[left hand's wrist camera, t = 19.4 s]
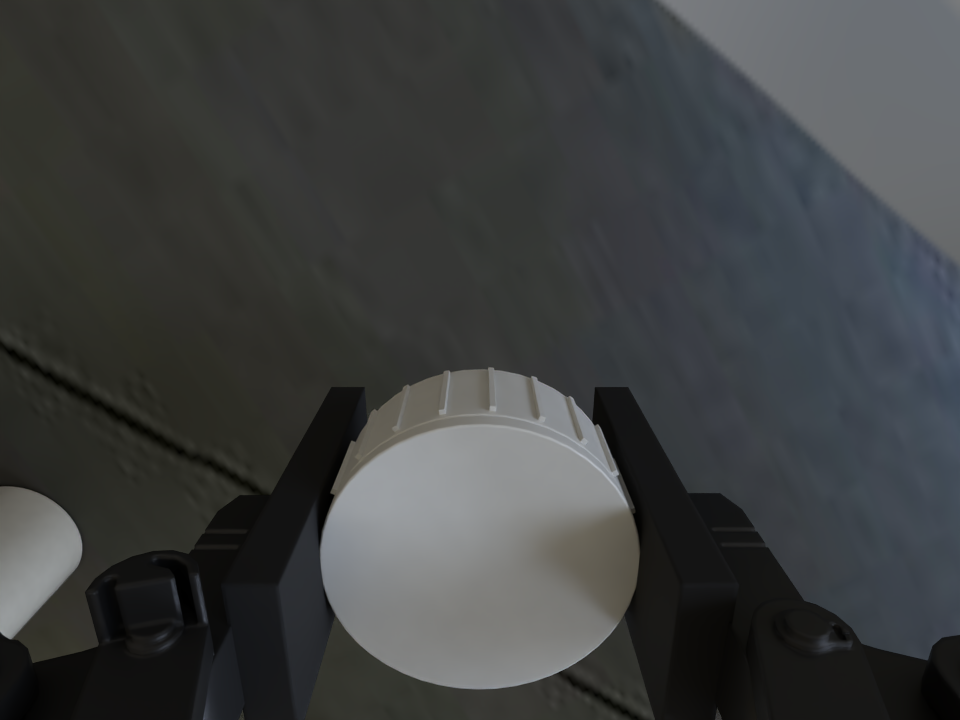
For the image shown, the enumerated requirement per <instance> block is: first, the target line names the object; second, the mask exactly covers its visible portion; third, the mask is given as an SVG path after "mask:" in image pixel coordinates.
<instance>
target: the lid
mask: <svg viewBox="0 0 960 720" xmlns="http://www.w3.org/2000/svg"><path fill="white" fill-rule="evenodd" d="M330 493H331V494H334V498H333V500H332V503H331V506H330V508H329V511H328V513H327V516H326V519H325V522H324V526H323V529H322V533H321V540H320V546H319V552H320V563H321V572H322V581H323V587H324V590H325V593H326V596H327V599H328V601H329V603H330V605H331V607H332V609H333V611H334V613H335V615H336V617H337V618H338V620H339V621H340V622H341V624H342V625H343V627H344V628H345V630H346V631H347V632H348V633H349V634H350V635H351V636H352V637H353V638H354V640H355V641H356V642H357V643H358V644H359V645H361V646H362V647H363V648H364V649H365V650H366V651H368V652H369V653H370V654H371V655H373V656H374V657H376V658H377V659H379V660H380V661H382V662H383V663H385V664H386V665H388V666H390V667H392V668H394V669H396V670H398V671H400V672H402V673H404V674H406V675H409V676H412V677H414V678H417V679H419V680H423V681H426V682H430V683H434V684H437V685H443V686H449V687H455V688H466V689H496V688H504V687H511V686H517V685H521V684H525V683H530V682H534V681H537V680H539V679H542V678H545V677H548V676H551V675H553V674H555V673H557V672H559V671H561V670H564V669H566V668H568V667H570V666H571V665H573V664H574V663H576V662H578V661H579V660H581V659H582V658H584V657H585V656H587V655H588V654H589V653H590V652H592V651H593V650H594V649H595V648H597V647H598V646H599V645H600V644H601V643H602V642H603V641H604V640H605V639H606V638H607V637H608V636H609V635H610V634H611V632H612V631H613V630H614V628H615V627H616V626H617V624H618V623H619V622H620V620H621V619H622V617H623V615H624V614H625V612H626V610H627V608H628V606H629V605H630V602H631V600H632V597H633V594H634V592H635V589H636V585H637V577H638V568H639V558H640V542H639V534H638V531H637V527H636V523H635V520H634V517H633V513H635V507H634V505H633V503H632V500H631V498H630V495H629V493H628V490H627V488H626V485H625V483H624V480H623V478H622V475H621V473H620V471H619V468H618V466H617V463H616V461H615V458H612V455H611V453H610V450H609V448H608V445H607V443H606V440H605V438H604V435H603V433H602V430H601V428H600V426H599V425H598V424H597V425H596V426H594V424H593V423H592V422H591V420H590V419H589V418H588V417H587V416H586V415H585V413H584V412H583V411H582V410H581V409H580V408H579V407H578V406H577V405H576V404H575V401H574V399H573V398H572V397H571V396H569V397H568V398H567V397H566V396H564V395H563V394H561V393H560V392H558V391H557V390H555V389H554V388H552V387H549V386H547V385H545V384H543V383H541V382H539V381H537V378H536V377H533V376H531V378H528V377H525V376H522V375H519V374H514V373H509V372H505V371H497V370H494V368H488V370H484V369H479V370H462V371H456V372H450V371H449V370H448V371H444V374H441V375H438V376H434V377H431V378H428V379H425V380H423V381H421V382H418V383H416V384H414V385H412V386H410V387H409V385H406V386H404V387H403V390H402V391H401V392H400V393H398V394H397V395H395V396H394V397H393V398H391V399H390V400H389V401H388V402H386V403H385V404H384V405H383V406H382V407H381V408H380V409H379V410H378V411H376V410H375V409H374V410H373V411H372V412H371V414H370V417H369V419H368V422H367V424H366V425H365V427H364V428H363V430H362V431H361V433H360V435H359V437H358V439H357V441H356V442H354V441H351V443H350V445H349V448H348V450H347V453H346V455H345V458H344V460H343V463H342V465H341V468H340V470H339V473H338V475H337V477H336V480H335V482H334V485H333V487H332V490H331V492H330Z"/></svg>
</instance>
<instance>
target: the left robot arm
mask: <svg viewBox="0 0 960 720" xmlns="http://www.w3.org/2000/svg"><path fill="white" fill-rule="evenodd" d="M592 423H593V424H594V426H596V425H597V424H598V425H599V426H600V428H601V430H602V433H603V435H604V438H605V440H606V443H607V445H608V448H609V450H610V453H611V455H612V458H615V461H616V463H617V466H618V468H619V471H620V473H621V475H622V478H623V480H624V483H625V485H626V488H627V490H628V493H629V495H630V498H631V500H632V503H633V505H634V507H635V513H633V517H634V520H635V523H636V527H637V531H638V534H639V542H640V558H639V568H638V577H637V585H636V589H635V592H634V594H633V597H632V600H631V602H630V605H629V606H628V608H627V610H626V612H625V614H624V615H625V619H626V622H627V625H628V629H629V632H630V636H631V639H632V642H633V646H634V649H635V653H636V656H637V659H638V663H639V666H640V670H641V673H642V676H643V680H644V683H645V687H646V690H647V693H648V697H649V700H650V704H651V707H652V710H653V714H654V717H655V720H715V716H716V711H717V707H718V710H719V712H720V715H721V717H722V720H960V635H957V636H950V637H944V638H941V639H940V640H939V641H938V642H937V643H935V644H934V645H933V646H932V649H931V652H930V656H929V659H928V661H927V660H923V659H919V658H914V657H910V656H906V655H901V654H897V653H893V652H889V651H884V650H880V649H877V648H873V647H870V646H867V645H864V644H861V642H860V641H859V639H858V637H857V636H856V634H855V633H854V631H853V630H852V628H851V627H850V626H848V625H847V624H846V623H845V622H844V621H842V620H841V619H840V618H839V617H838V616H837V615H835V614H833V613H831V612H830V611H828V610H826V609H824V608H822V607H820V606H818V605H816V604H813V603H809V602H806V601H804V600H803V598H802V597H801V595H800V594H799V592H798V591H797V589H796V588H795V586H794V585H793V584H792V582H791V581H790V579H789V578H788V576H787V575H786V573H785V572H784V570H783V569H782V567H781V566H780V564H779V563H778V561H777V560H776V559H775V557H774V556H773V554H772V553H771V551H770V550H769V548H768V547H765V542H764V541H763V539H762V538H761V536H760V535H759V534H758V532H755V528H754V526H753V525H752V523H751V522H750V520H749V519H748V517H747V516H746V514H745V513H744V511H743V510H742V509H741V508H739V507H738V506H737V505H735V504H734V503H733V502H731V501H730V500H728V499H727V498H726V497H724V496H723V495H722V494H720V493H687V491H686V489H685V487H684V486H683V484H682V482H681V480H680V479H679V477H678V475H677V473H676V471H675V470H674V468H673V466H672V464H671V463H670V461H669V459H668V457H667V456H666V454H665V452H664V450H663V448H662V447H661V445H660V443H659V441H658V440H657V438H656V436H655V434H654V432H653V431H652V429H651V427H650V425H649V424H648V422H647V420H646V418H645V416H644V415H643V413H642V411H641V409H640V408H639V406H638V404H637V402H636V400H635V399H634V397H633V395H632V393H631V392H630V390H629V388H628V387H595V394H594V408H593V422H592ZM366 424H367V414H366V399H365V387H331V389H330V391H329V393H328V394H327V396H326V398H325V400H324V401H323V403H322V405H321V407H320V409H319V410H318V412H317V414H316V416H315V417H314V419H313V421H312V423H311V425H310V426H309V428H308V430H307V432H306V433H305V435H304V437H303V439H302V441H301V442H300V444H299V446H298V448H297V449H296V451H295V453H294V455H293V457H292V458H291V460H290V462H289V464H288V465H287V467H286V469H285V471H284V473H283V474H282V476H281V478H280V480H279V481H278V483H277V485H276V487H275V489H274V490H273V492H272V494H271V495H240V496H238V497H237V498H235V499H234V500H233V501H231V502H230V503H229V504H227V505H226V506H225V507H223V508H222V509H220V510H219V511H218V512H217V513H216V515H215V516H214V518H213V519H212V521H211V522H210V524H209V525H208V527H207V528H206V530H205V534H202V536H201V537H200V539H199V540H198V542H197V543H196V544H195V549H194V550H191V552H190V553H189V554H186V553H182V552H178V551H174V550H167V551H152V552H148V553H144V554H140V555H136V556H132V557H130V558H128V559H126V560H124V561H122V562H119V563H117V564H115V565H113V566H111V567H110V568H109V569H107V570H106V571H105V572H103V573H102V574H101V575H99V576H98V577H97V578H95V580H94V581H93V582H92V584H91V585H90V586H89V588H88V589H87V590H86V592H85V594H86V598H87V602H88V605H89V609H90V613H91V616H92V620H93V624H94V627H95V631H96V634H97V638H98V642H99V645H98V647H95V648H92V649H89V650H85V651H82V652H78V653H74V654H70V655H65V656H61V657H57V658H53V659H48V660H44V661H40V662H36V663H32V660H31V657H30V654H29V651H28V648H26V647H25V646H24V645H23V644H22V643H21V642H19V641H18V640H12V639H5V638H0V720H238V719H239V717H240V714H241V712H242V709H243V713H244V718H245V720H304V719H305V716H306V713H307V709H308V706H309V702H310V699H311V696H312V692H313V689H314V685H315V682H316V679H317V675H318V672H319V668H320V665H321V662H322V658H323V655H324V651H325V648H326V645H327V641H328V638H329V634H330V631H331V628H332V624H333V621H334V617H335V613H334V611H333V609H332V607H331V605H330V603H329V601H328V599H327V596H326V593H325V590H324V587H323V581H322V572H321V563H320V552H319V546H320V540H321V533H322V529H323V526H324V522H325V519H326V516H327V513H328V511H329V508H330V506H331V503H332V500H333V498H334V494H331V493H330V492H331V490H332V487H333V485H334V482H335V480H336V477H337V475H338V473H339V470H340V468H341V465H342V463H343V460H344V458H345V455H346V453H347V450H348V448H349V445H350V443H351V441H354V442H356V441H357V439H358V437H359V435H360V433H361V431H362V430H363V428H364V427H365V425H366Z"/></svg>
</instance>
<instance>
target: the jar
mask: <svg viewBox="0 0 960 720" xmlns="http://www.w3.org/2000/svg"><path fill="white" fill-rule="evenodd" d="M81 556H82V540H81V536H80V533H79V530H78V528H77V526H76V524H75V523H74V521H73V520H72V518H71V517H70V516H69V515H68V513H67V512H66V511H65V510H64V509H63V508H62V507H60V506H59V505H58V504H57V503H55V502H54V501H53V500H51V499H49V498H48V497H46V496H44V495H42V494H40V493H38V492H35V491H32V490H29V489H25V488H21V487H14V486H1V487H0V632H1V633H2V634H3V635H4V636H5V637H7V638H9V639H13V638H14V637H15V636H16V635H17V634H18V632H19V631H20V630H21V629H22V628H23V627H24V626H25V625H26V624H27V623H28V622H29V620H30V619H31V618H32V617H33V616H34V615H35V614H36V613H37V612H38V611H39V610H40V608H41V607H42V606H43V605H44V604H45V603H46V602H47V601H48V600H49V599H50V597H51V596H52V595H53V594H54V593H55V592H56V591H57V590H58V589H59V588H60V587H61V585H62V584H63V583H64V582H65V581H66V580H67V579H68V578H69V577H70V576H71V575H72V573H73V572H74V571H75V570H76V568H77V567H78V565H79V563H80V560H81Z"/></svg>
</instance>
